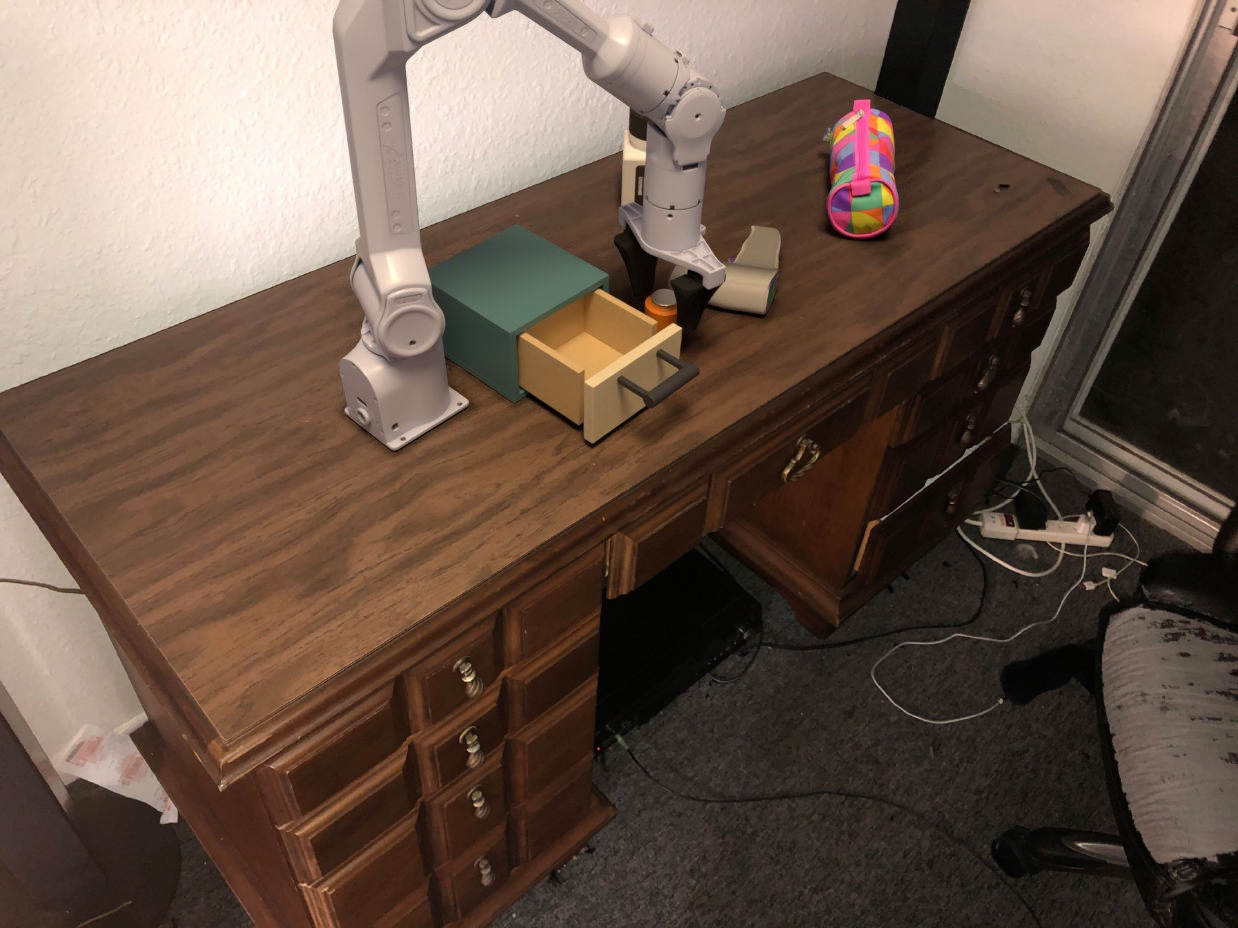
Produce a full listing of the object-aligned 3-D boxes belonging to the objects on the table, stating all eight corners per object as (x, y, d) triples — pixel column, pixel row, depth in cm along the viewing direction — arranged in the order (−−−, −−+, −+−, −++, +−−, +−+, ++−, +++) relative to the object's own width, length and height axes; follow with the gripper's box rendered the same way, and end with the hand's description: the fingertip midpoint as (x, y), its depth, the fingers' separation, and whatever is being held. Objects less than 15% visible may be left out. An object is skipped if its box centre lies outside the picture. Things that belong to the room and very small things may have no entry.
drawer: (713, 405, 94) (720, 349, 89) (629, 468, 87) (632, 412, 82) (588, 330, 102) (588, 275, 97) (502, 383, 95) (498, 327, 90)
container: (681, 216, 121) (689, 118, 111) (620, 214, 121) (624, 115, 111) (679, 185, 126) (687, 89, 117) (621, 183, 126) (625, 87, 117)
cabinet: (607, 344, 102) (609, 274, 95) (514, 403, 94) (509, 333, 88) (520, 292, 108) (517, 223, 102) (427, 344, 101) (416, 274, 94)
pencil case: (817, 158, 133) (829, 95, 126) (885, 165, 132) (901, 101, 126) (818, 241, 117) (832, 174, 111) (895, 248, 117) (913, 181, 110)
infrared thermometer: (782, 257, 116) (772, 321, 105) (684, 243, 118) (664, 305, 107) (788, 222, 113) (778, 285, 102) (688, 209, 115) (667, 269, 104)
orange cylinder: (664, 357, 100) (667, 314, 96) (634, 340, 102) (637, 297, 98) (689, 339, 103) (693, 297, 99) (660, 323, 104) (663, 280, 101)
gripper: (755, 216, 88) (738, 333, 97) (659, 153, 96) (652, 267, 106) (697, 239, 85) (685, 357, 94) (602, 172, 93) (600, 288, 102)
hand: (664, 312), depth 100 cm, fingers open, 7 cm apart
